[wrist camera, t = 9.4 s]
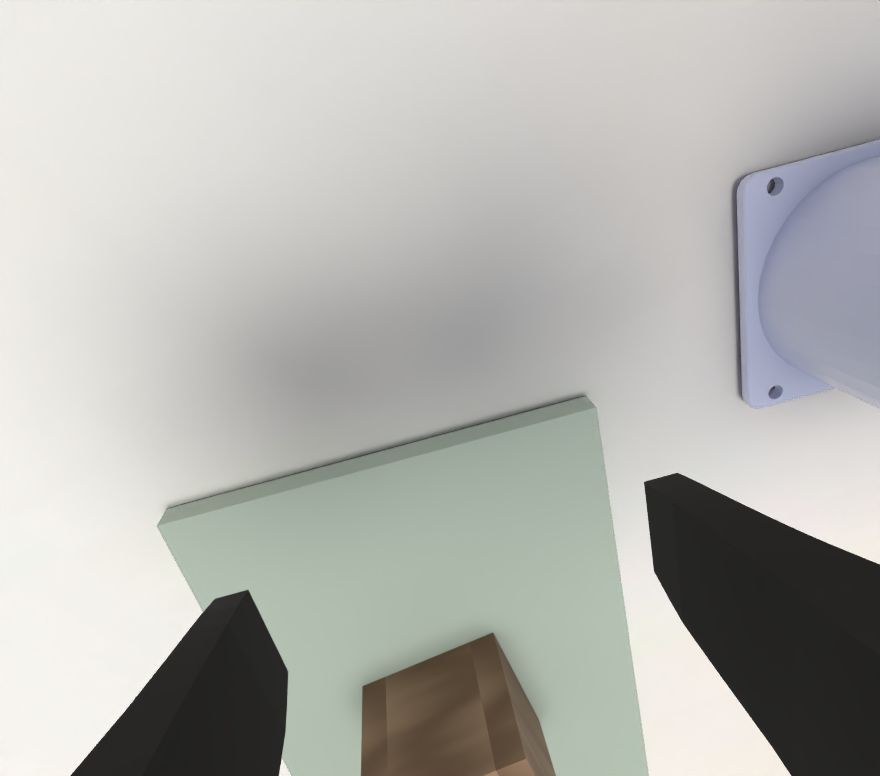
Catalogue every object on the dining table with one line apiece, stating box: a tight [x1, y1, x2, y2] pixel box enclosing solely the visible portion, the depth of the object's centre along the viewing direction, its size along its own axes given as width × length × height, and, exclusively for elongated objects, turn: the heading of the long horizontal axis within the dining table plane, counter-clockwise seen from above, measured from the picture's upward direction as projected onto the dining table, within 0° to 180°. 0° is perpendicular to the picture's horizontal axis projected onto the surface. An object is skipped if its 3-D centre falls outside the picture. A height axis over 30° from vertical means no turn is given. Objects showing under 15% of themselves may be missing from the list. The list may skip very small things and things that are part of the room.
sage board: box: [157, 396, 649, 776], centre depth 23 cm, size 15×20×1 cm
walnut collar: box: [361, 633, 556, 776], centre depth 21 cm, size 6×6×5 cm
